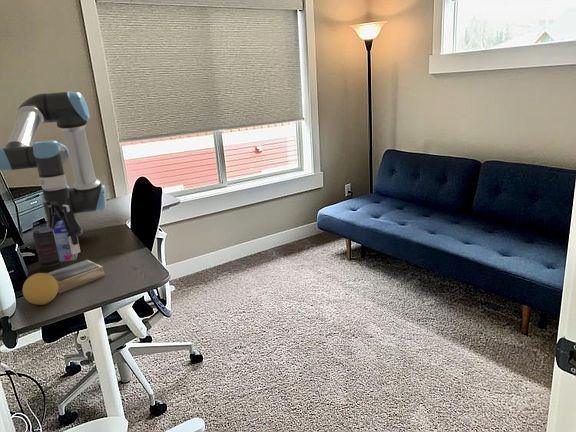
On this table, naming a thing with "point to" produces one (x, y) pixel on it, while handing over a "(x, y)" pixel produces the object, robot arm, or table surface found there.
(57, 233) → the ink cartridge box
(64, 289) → the plinth
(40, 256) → the dark lidded jar
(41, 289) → the stress ball
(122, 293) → the table surface
